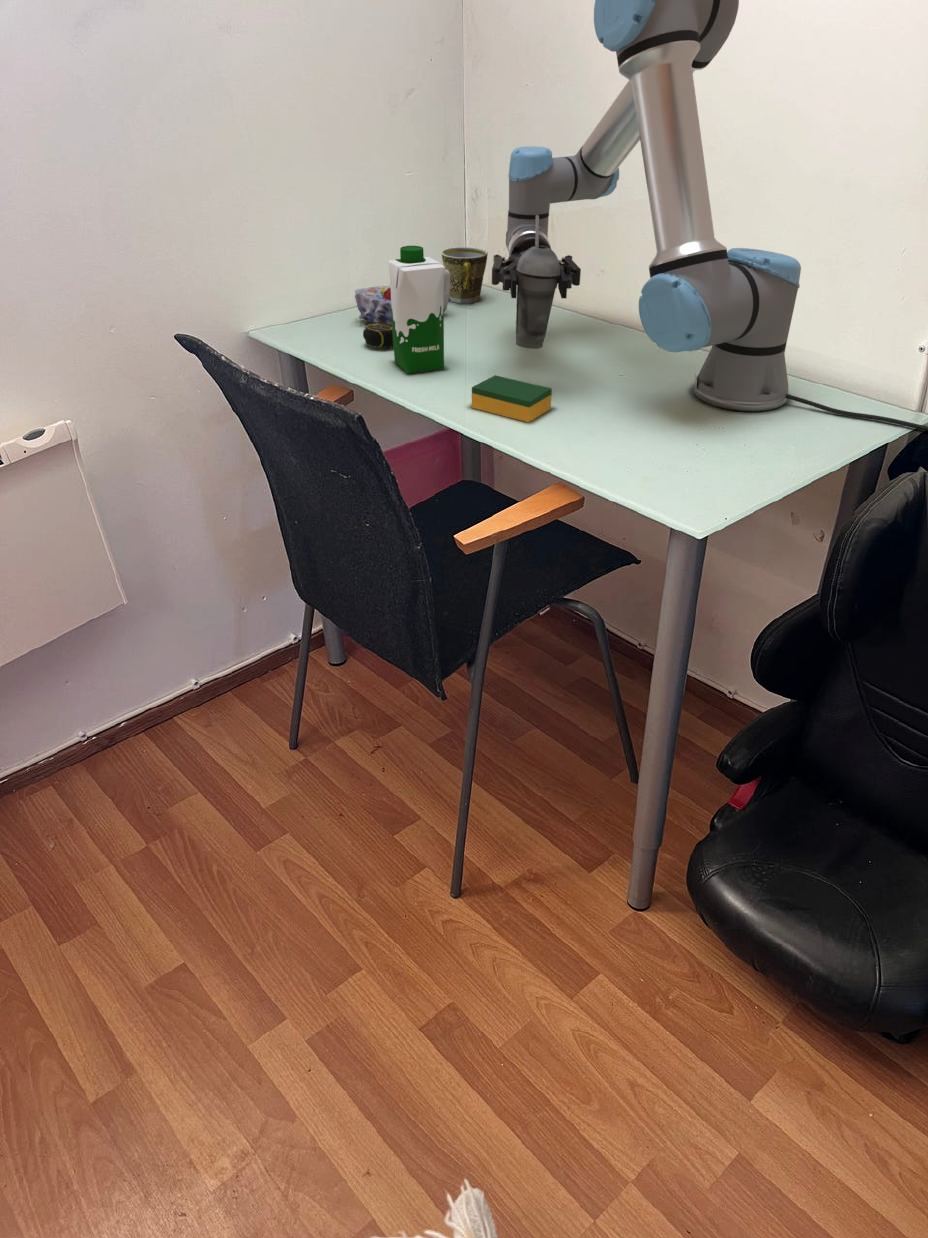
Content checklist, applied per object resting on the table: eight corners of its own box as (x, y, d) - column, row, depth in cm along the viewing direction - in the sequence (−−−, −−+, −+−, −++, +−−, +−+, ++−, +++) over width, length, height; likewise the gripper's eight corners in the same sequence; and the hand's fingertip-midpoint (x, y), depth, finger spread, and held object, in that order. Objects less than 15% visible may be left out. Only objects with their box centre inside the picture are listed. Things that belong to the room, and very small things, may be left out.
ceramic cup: (440, 293, 207) (439, 247, 201) (483, 292, 208) (484, 246, 202) (445, 310, 196) (445, 261, 191) (491, 309, 197) (492, 260, 192)
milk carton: (432, 355, 172) (430, 242, 161) (451, 370, 165) (450, 254, 154) (388, 361, 169) (383, 247, 158) (405, 377, 162) (401, 258, 151)
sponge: (550, 409, 150) (552, 388, 148) (528, 422, 145) (529, 401, 143) (494, 394, 155) (495, 374, 153) (471, 407, 150) (471, 387, 148)
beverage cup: (548, 353, 150) (566, 222, 139) (504, 347, 150) (519, 217, 139) (552, 341, 156) (569, 214, 145) (510, 335, 156) (524, 209, 145)
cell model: (457, 261, 187) (389, 283, 175) (458, 314, 193) (392, 338, 181) (411, 250, 194) (342, 271, 182) (413, 302, 200) (347, 325, 188)
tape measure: (406, 343, 178) (405, 323, 176) (388, 353, 173) (387, 333, 171) (376, 338, 180) (375, 319, 178) (357, 348, 175) (356, 328, 173)
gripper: (585, 276, 165) (601, 313, 146) (473, 275, 165) (475, 313, 146) (588, 232, 160) (605, 264, 142) (473, 231, 160) (475, 264, 141)
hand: (539, 289), depth 144 cm, fingers closed on beverage cup, 7 cm apart
